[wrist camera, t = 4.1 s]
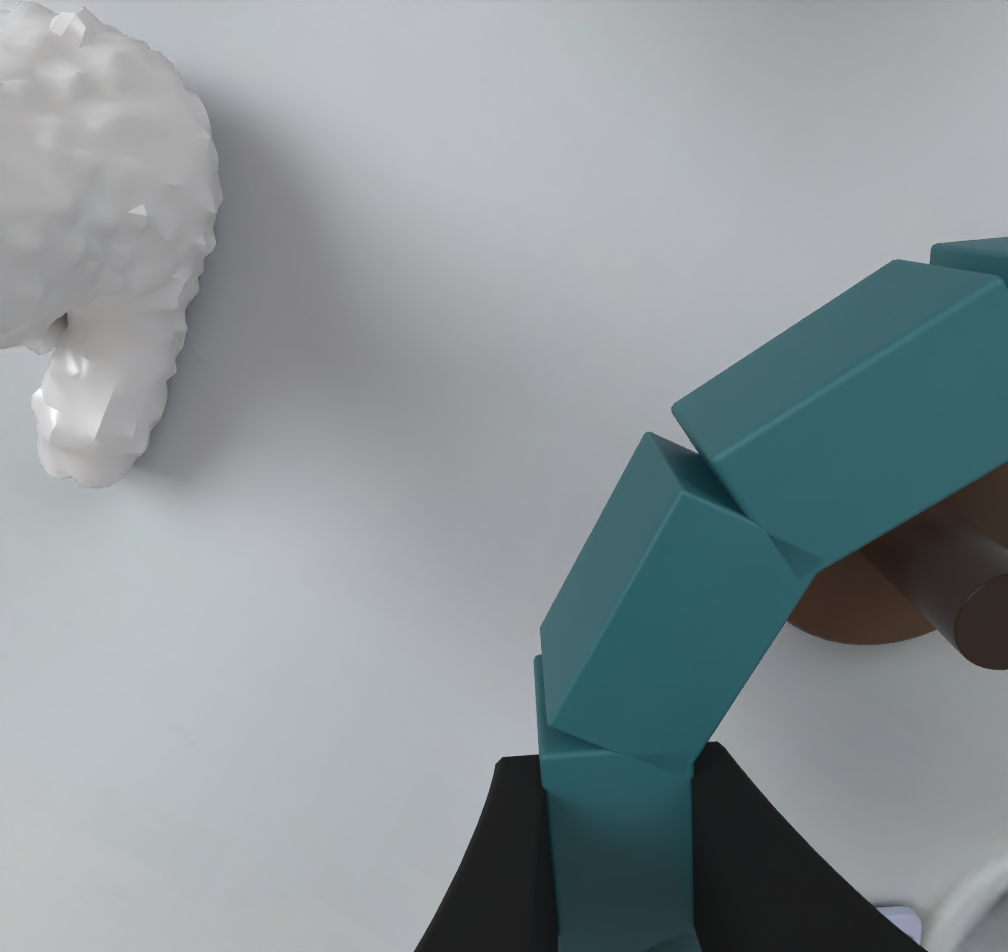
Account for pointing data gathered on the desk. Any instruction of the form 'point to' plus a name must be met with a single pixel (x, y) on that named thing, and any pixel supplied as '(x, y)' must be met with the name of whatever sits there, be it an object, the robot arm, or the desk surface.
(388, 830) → the desk surface
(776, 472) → the hoop
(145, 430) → the white creature statuette
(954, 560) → the hanging post
